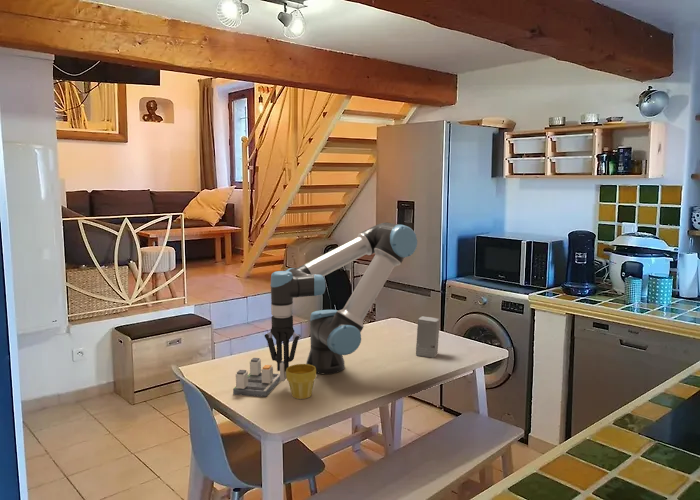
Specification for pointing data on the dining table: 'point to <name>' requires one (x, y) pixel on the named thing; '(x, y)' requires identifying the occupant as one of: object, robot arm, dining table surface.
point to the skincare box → (427, 336)
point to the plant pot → (301, 380)
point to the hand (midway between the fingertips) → (283, 379)
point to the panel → (257, 386)
